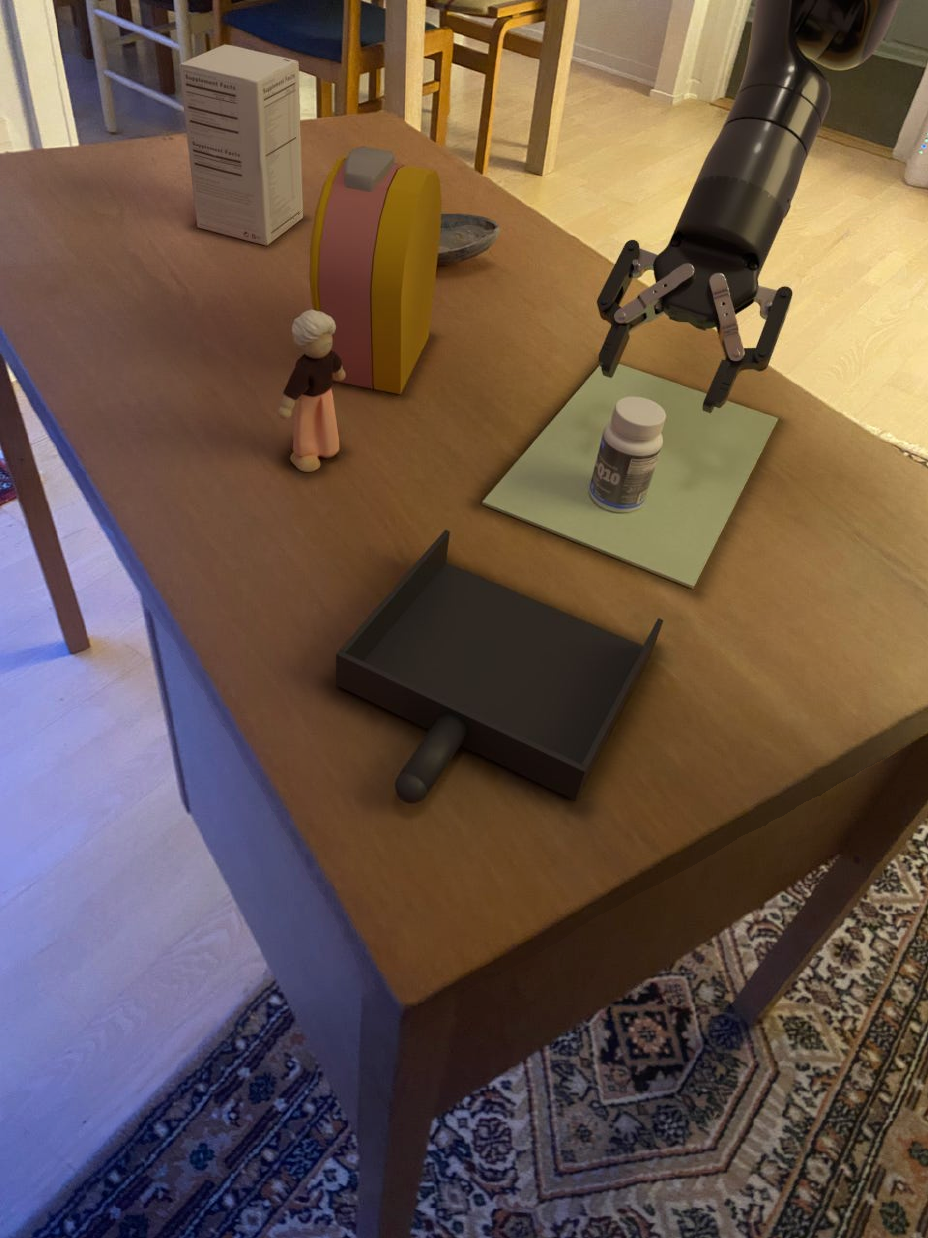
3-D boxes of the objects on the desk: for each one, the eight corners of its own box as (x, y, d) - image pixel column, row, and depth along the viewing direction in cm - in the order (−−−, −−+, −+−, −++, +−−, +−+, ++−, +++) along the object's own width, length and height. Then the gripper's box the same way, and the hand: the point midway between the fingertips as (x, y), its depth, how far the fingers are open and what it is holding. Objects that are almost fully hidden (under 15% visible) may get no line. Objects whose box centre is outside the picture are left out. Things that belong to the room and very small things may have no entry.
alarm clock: (355, 313, 93) (357, 119, 80) (432, 328, 92) (448, 135, 79) (308, 386, 82) (303, 176, 69) (395, 404, 82) (406, 195, 69)
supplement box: (236, 200, 110) (224, 41, 98) (305, 218, 108) (301, 58, 96) (194, 228, 103) (175, 61, 91) (266, 247, 101) (257, 79, 89)
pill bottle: (578, 484, 75) (598, 397, 69) (626, 475, 77) (650, 389, 71) (606, 519, 72) (630, 431, 66) (655, 508, 74) (682, 422, 68)
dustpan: (441, 562, 67) (445, 529, 65) (651, 652, 63) (664, 619, 61) (280, 753, 54) (278, 719, 52) (533, 883, 50) (543, 853, 47)
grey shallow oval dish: (455, 229, 110) (459, 186, 107) (503, 273, 103) (509, 230, 99) (338, 241, 104) (338, 197, 101) (380, 289, 97) (381, 243, 93)
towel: (604, 361, 91) (605, 358, 91) (777, 420, 86) (778, 417, 86) (481, 504, 73) (482, 501, 72) (692, 589, 68) (693, 586, 68)
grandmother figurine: (317, 484, 72) (314, 340, 63) (274, 471, 73) (266, 326, 64) (357, 436, 78) (360, 296, 69) (317, 424, 78) (315, 284, 69)
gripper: (651, 150, 69) (567, 346, 70) (835, 200, 65) (744, 407, 66) (656, 200, 76) (579, 378, 77) (822, 248, 72) (740, 434, 73)
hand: (655, 391), depth 71 cm, fingers open, 8 cm apart
